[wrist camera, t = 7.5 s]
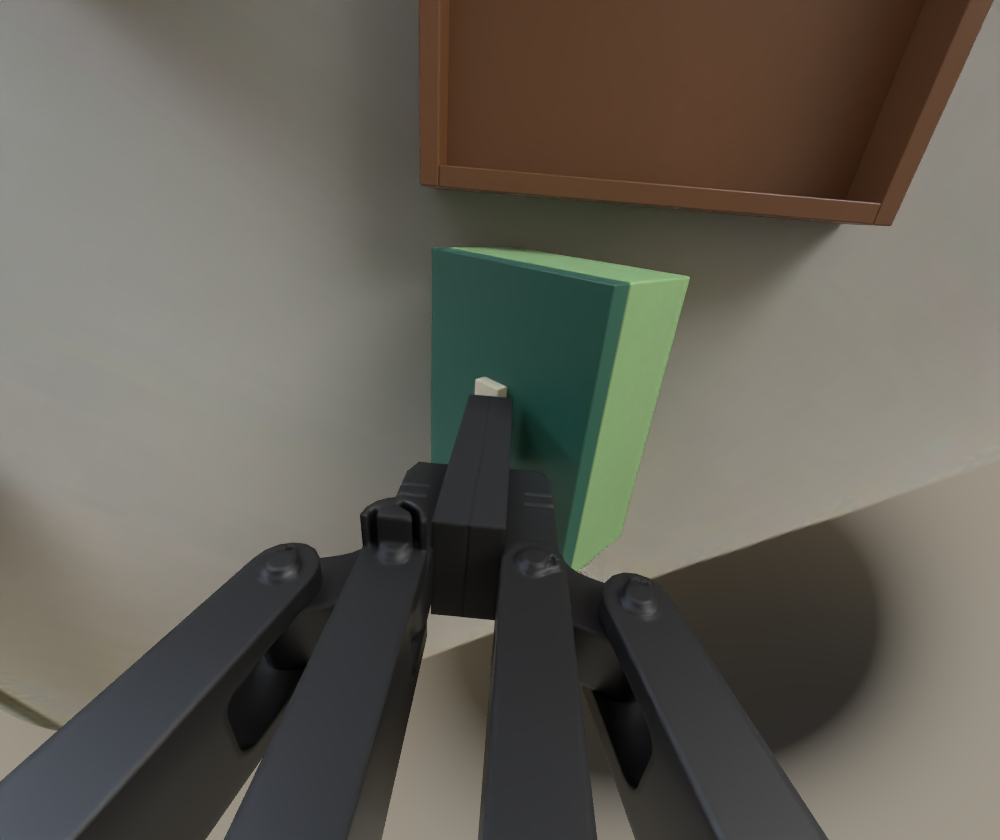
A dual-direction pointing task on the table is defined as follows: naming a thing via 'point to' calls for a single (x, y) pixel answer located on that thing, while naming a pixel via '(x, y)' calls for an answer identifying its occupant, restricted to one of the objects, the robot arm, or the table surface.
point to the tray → (690, 100)
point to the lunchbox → (556, 371)
